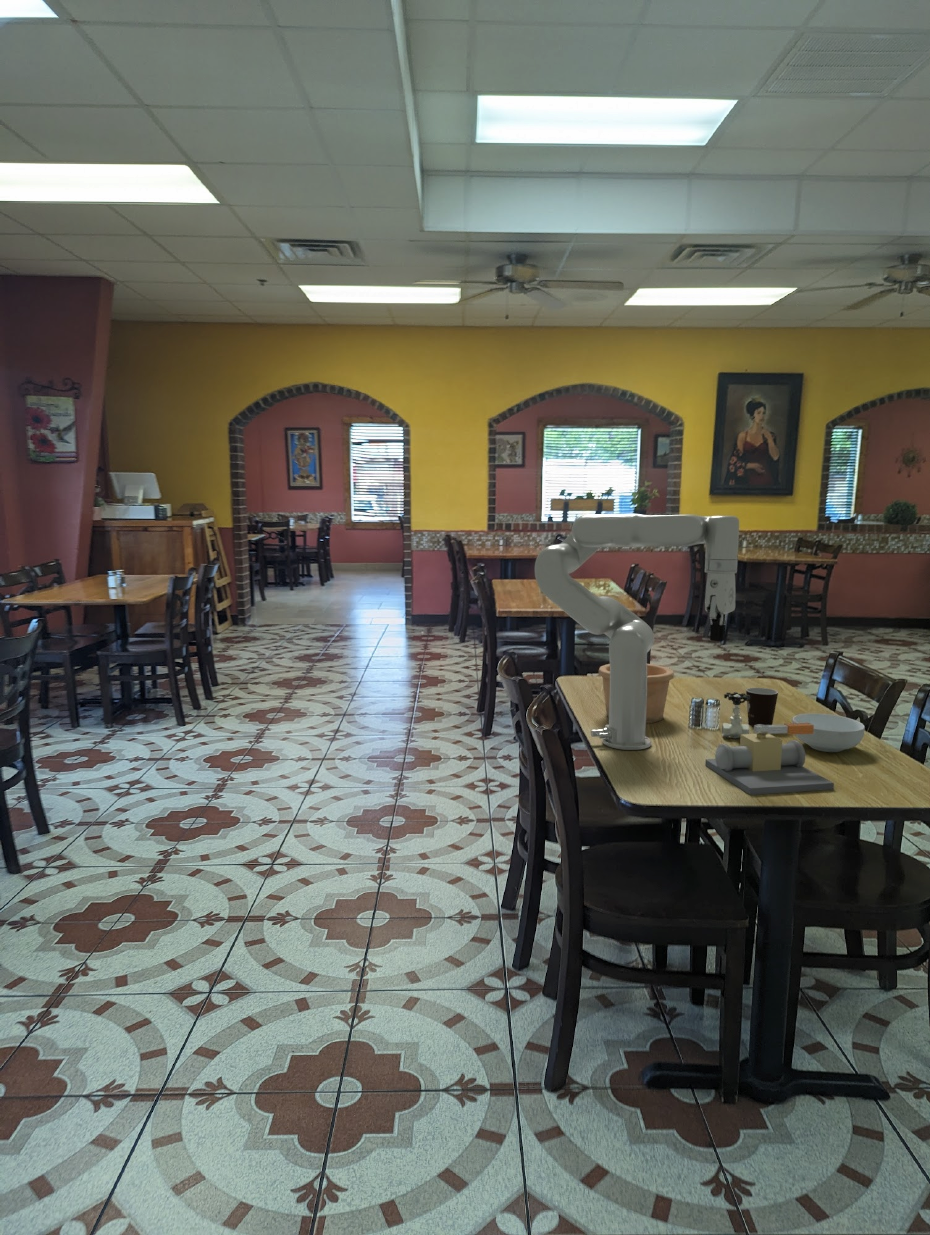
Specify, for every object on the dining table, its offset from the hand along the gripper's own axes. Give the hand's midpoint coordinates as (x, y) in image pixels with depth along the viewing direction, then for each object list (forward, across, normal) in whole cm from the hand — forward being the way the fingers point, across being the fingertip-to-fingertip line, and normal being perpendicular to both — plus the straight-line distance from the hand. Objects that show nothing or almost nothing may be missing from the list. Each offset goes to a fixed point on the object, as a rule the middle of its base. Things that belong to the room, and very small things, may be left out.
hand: (717, 640), depth 190 cm
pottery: (+29, +23, +30) cm, 48 cm away
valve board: (+29, -10, -16) cm, 34 cm away
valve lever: (+20, -4, -17) cm, 27 cm away
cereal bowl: (+29, +23, -23) cm, 43 cm away
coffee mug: (+29, +37, -3) cm, 47 cm away
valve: (+29, +18, -1) cm, 34 cm away
